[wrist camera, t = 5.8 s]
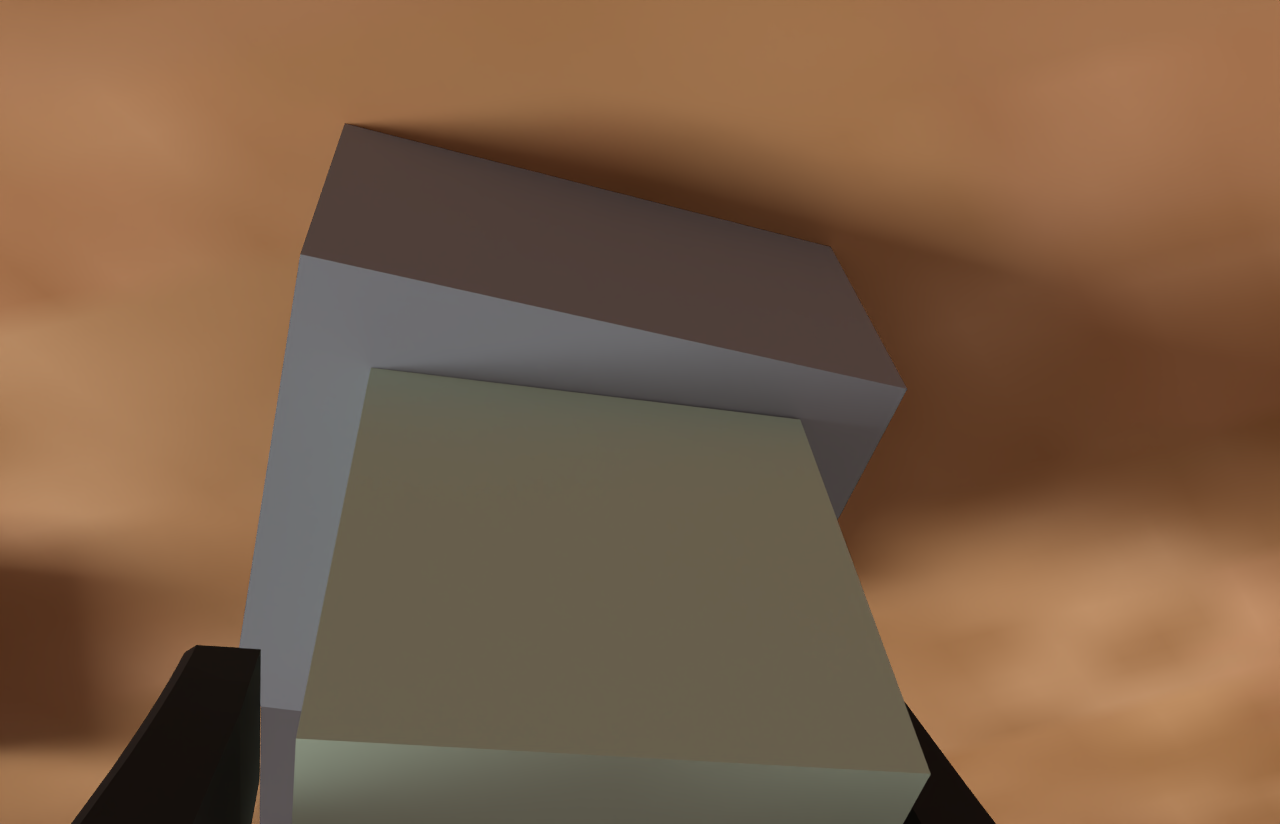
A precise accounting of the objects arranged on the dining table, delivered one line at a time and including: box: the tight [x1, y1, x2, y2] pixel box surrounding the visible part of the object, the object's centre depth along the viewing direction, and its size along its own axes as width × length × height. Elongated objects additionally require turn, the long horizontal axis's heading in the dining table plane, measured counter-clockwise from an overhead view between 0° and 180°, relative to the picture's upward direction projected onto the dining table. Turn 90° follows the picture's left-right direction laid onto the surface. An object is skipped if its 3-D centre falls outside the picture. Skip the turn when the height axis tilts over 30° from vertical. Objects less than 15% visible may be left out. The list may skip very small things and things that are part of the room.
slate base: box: [239, 124, 907, 711], centre depth 15 cm, size 7×7×4 cm
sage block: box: [292, 368, 931, 824], centre depth 12 cm, size 5×5×5 cm
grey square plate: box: [260, 706, 301, 824], centre depth 22 cm, size 8×8×1 cm
